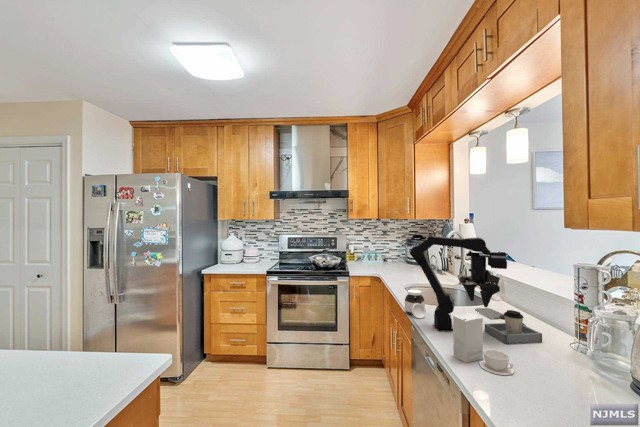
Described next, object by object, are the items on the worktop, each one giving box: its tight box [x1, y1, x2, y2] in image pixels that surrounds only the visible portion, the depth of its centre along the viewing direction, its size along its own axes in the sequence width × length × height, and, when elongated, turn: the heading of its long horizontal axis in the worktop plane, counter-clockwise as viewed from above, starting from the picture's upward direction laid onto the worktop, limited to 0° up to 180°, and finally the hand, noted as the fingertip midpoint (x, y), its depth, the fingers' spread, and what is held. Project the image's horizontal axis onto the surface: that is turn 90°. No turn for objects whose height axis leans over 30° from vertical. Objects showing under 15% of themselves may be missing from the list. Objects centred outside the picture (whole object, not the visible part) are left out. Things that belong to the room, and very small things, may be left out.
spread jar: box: [404, 289, 427, 319], centre depth 151 cm, size 12×11×12 cm
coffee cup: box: [503, 309, 524, 334], centre depth 122 cm, size 7×7×10 cm
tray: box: [484, 322, 543, 345], centre depth 123 cm, size 16×13×4 cm
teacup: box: [479, 348, 515, 376], centre depth 98 cm, size 10×10×5 cm
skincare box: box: [452, 312, 484, 363], centre depth 105 cm, size 8×6×15 cm
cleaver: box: [474, 307, 527, 326], centre depth 146 cm, size 29×10×2 cm, turn 6°
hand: (478, 303), depth 126 cm, fingers open, 9 cm apart
